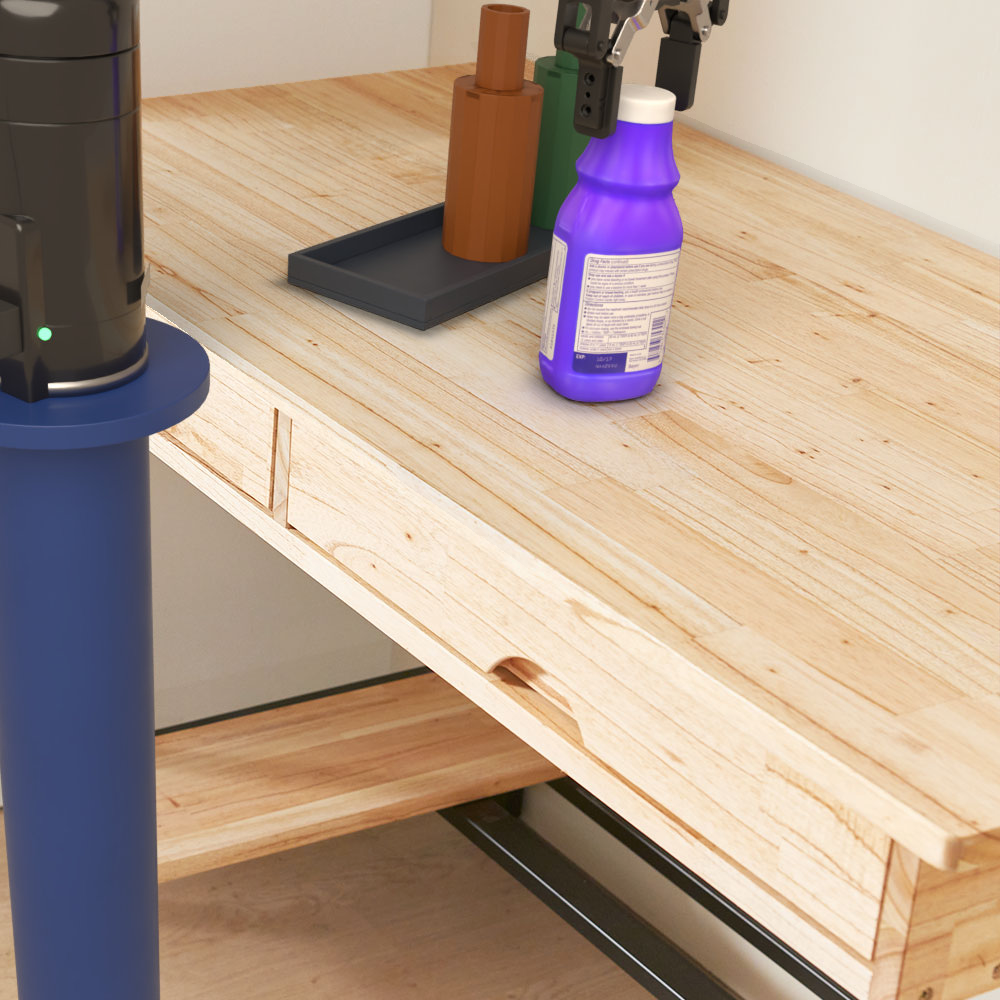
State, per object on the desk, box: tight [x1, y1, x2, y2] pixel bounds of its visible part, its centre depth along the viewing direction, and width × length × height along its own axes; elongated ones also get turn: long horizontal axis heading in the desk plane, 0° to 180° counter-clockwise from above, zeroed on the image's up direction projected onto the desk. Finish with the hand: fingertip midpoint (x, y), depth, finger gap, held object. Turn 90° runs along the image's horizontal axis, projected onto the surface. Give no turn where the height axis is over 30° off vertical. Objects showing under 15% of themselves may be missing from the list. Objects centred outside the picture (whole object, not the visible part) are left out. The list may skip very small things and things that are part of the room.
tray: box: [286, 200, 554, 331], centre depth 109 cm, size 29×11×2 cm, turn 146°
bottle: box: [538, 82, 684, 403], centre depth 86 cm, size 7×6×17 cm
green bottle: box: [530, 3, 591, 230], centre depth 113 cm, size 6×6×17 cm
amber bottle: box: [442, 3, 544, 263], centre depth 105 cm, size 6×6×17 cm
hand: (634, 121), depth 83 cm, fingers open, 8 cm apart
